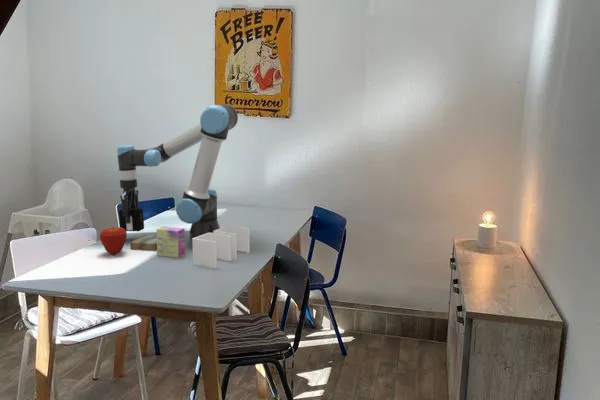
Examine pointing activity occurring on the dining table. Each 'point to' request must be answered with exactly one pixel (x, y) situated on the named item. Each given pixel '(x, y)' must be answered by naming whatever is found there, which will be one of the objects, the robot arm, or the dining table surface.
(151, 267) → the dining table surface
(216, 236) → the white folding screen
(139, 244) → the wooden tray
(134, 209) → the electronic device
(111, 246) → the apple
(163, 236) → the box
